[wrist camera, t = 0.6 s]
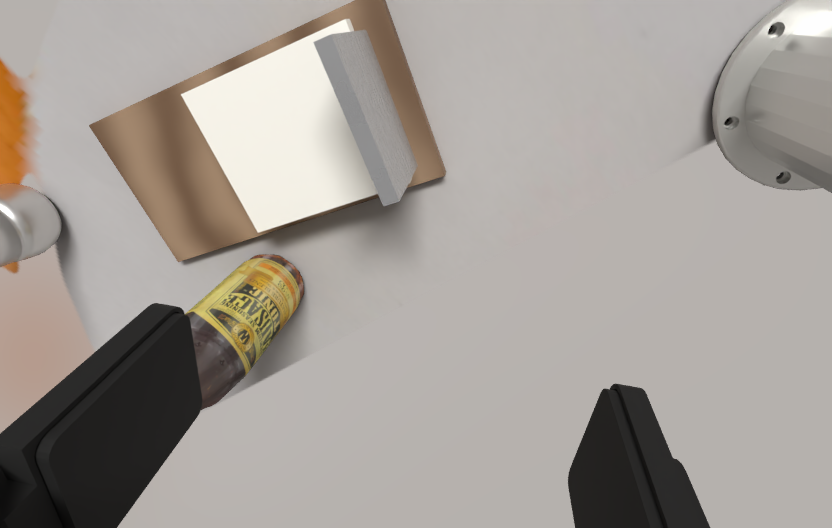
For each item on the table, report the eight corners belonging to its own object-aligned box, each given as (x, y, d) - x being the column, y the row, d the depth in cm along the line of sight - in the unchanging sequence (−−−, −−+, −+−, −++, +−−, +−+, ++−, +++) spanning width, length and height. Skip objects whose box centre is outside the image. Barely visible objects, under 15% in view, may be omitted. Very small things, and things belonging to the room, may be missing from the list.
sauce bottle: (319, 296, 43) (203, 483, 26) (267, 315, 46) (126, 500, 28) (282, 236, 41) (126, 399, 24) (228, 259, 43) (48, 425, 26)
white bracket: (370, 12, 31) (321, 12, 22) (427, 168, 35) (405, 217, 27) (201, 89, 35) (107, 113, 26) (272, 219, 39) (210, 276, 31)
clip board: (381, -10, 31) (378, -11, 30) (446, 171, 36) (444, 175, 35) (98, 122, 39) (88, 125, 38) (184, 257, 44) (178, 262, 43)
